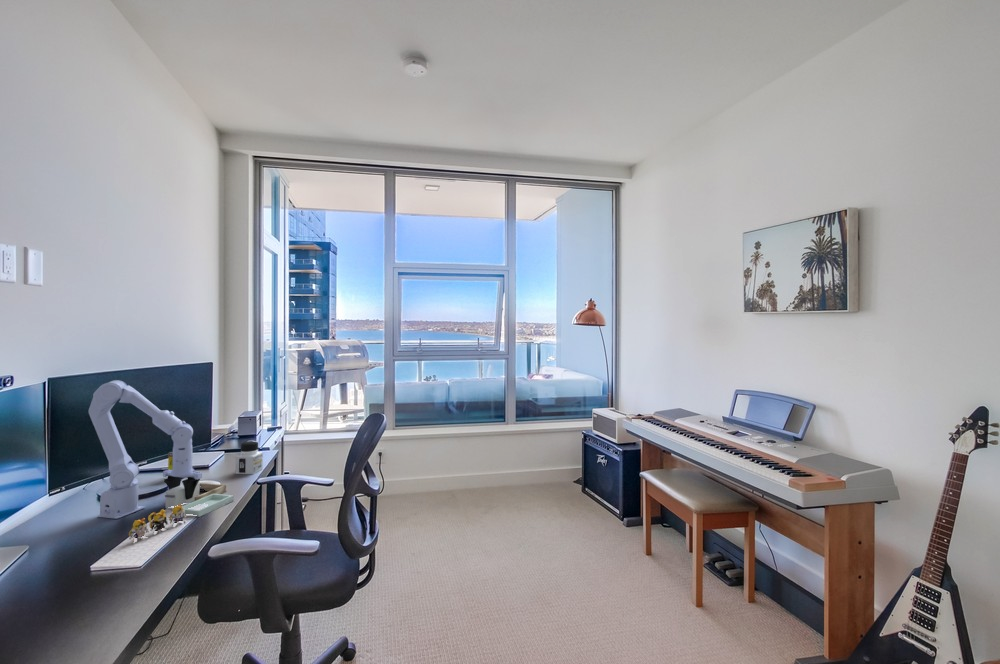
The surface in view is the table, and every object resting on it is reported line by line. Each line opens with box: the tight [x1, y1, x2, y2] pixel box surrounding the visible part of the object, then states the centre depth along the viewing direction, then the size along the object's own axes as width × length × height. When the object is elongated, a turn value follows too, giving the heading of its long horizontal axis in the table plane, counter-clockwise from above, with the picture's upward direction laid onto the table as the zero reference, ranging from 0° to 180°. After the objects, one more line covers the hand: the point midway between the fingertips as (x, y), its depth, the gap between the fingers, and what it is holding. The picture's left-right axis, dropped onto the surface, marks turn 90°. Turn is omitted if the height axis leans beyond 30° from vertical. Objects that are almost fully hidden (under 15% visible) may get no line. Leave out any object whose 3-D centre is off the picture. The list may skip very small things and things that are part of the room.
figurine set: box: [128, 504, 187, 540], centre depth 137 cm, size 3×16×7 cm, turn 162°
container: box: [235, 440, 264, 475], centre depth 196 cm, size 8×8×13 cm
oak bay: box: [193, 482, 227, 502], centre depth 166 cm, size 13×12×2 cm
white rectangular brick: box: [164, 482, 201, 509], centre depth 159 cm, size 11×4×6 cm, turn 171°
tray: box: [182, 493, 235, 518], centre depth 156 cm, size 15×9×2 cm, turn 168°
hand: (182, 497), depth 159 cm, fingers open, 5 cm apart
